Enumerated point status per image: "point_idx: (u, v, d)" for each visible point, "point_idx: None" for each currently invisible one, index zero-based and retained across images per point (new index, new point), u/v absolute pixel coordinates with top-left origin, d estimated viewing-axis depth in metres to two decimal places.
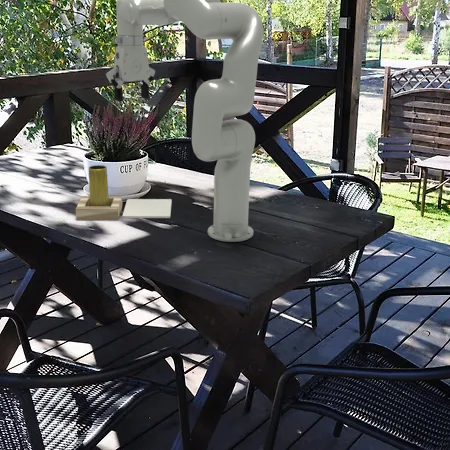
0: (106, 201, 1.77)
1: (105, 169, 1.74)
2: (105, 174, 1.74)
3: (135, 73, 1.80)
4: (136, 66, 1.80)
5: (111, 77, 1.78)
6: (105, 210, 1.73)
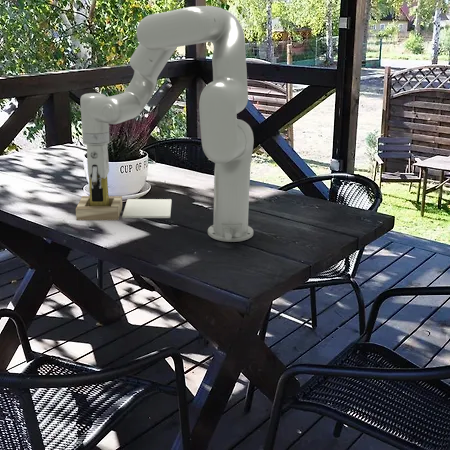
0: (106, 201, 1.77)
1: None
2: None
3: (107, 168, 1.74)
4: (107, 161, 1.74)
5: (97, 181, 1.70)
6: (105, 210, 1.73)
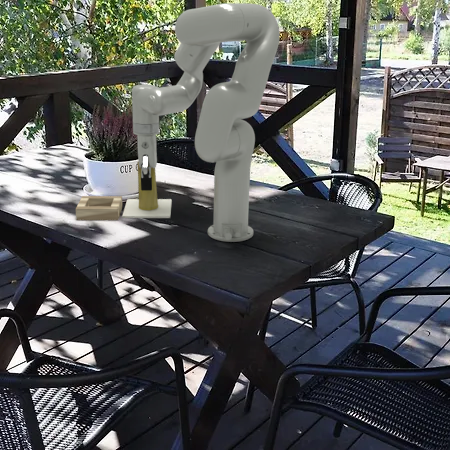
0: (155, 195, 1.81)
1: None
2: None
3: (156, 158, 1.78)
4: None
5: (147, 169, 1.73)
6: (105, 210, 1.73)
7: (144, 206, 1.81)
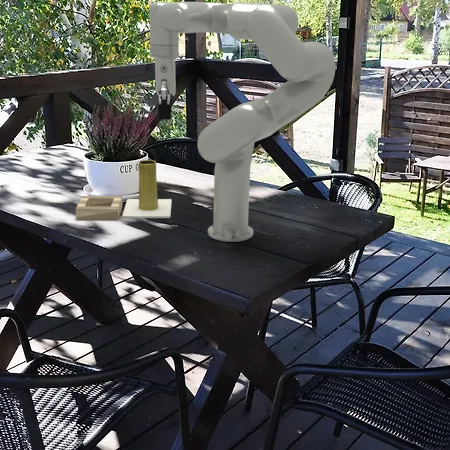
0: (155, 195, 1.81)
1: (155, 164, 1.78)
2: (155, 169, 1.79)
3: None
4: None
5: (166, 93, 1.56)
6: (105, 210, 1.73)
7: (144, 206, 1.81)
